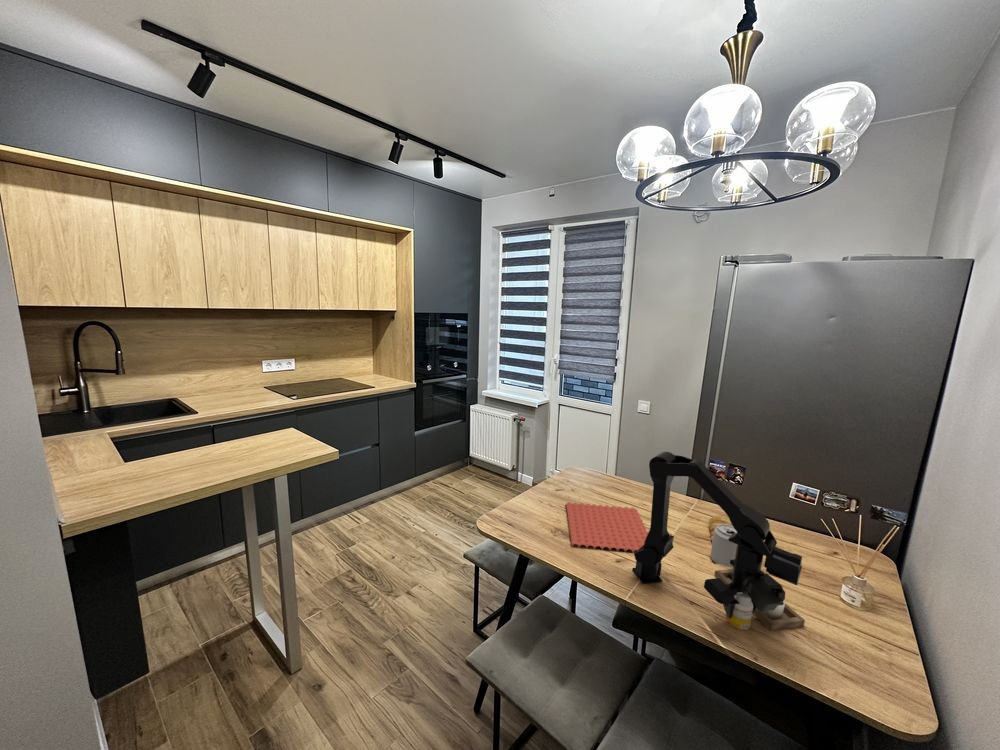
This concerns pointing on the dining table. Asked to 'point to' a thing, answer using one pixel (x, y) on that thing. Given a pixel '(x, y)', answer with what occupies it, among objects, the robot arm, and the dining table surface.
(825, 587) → the dining table surface
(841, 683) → the dining table surface
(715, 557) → the can
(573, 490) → the dining table surface
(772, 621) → the caddy
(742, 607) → the supplement bottle
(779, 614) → the white rounded cylinder
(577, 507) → the red studded mat
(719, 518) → the croissant
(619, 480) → the dining table surface
